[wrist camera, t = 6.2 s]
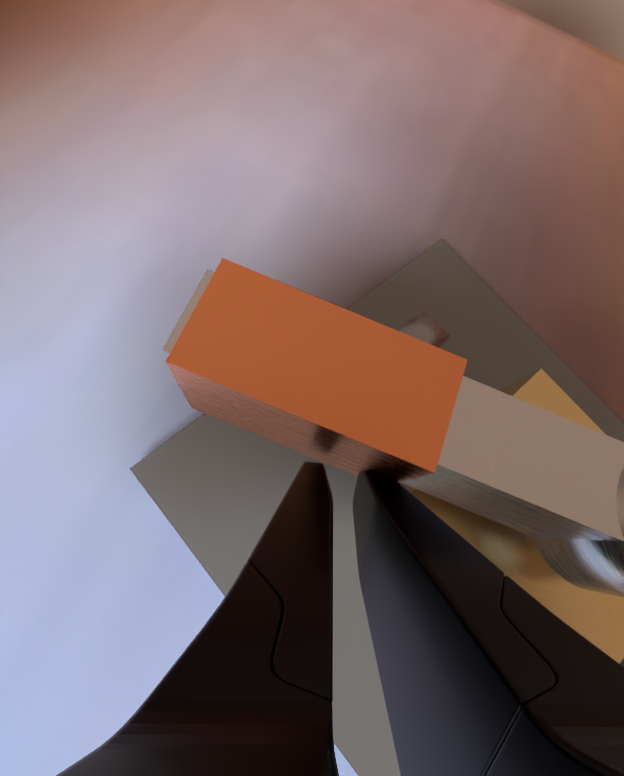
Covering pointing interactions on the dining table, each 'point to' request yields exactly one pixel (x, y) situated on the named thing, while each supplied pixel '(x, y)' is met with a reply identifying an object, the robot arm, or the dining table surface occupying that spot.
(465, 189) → the dining table surface
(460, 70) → the dining table surface
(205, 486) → the rubber mat
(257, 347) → the valve lever
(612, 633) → the valve body
